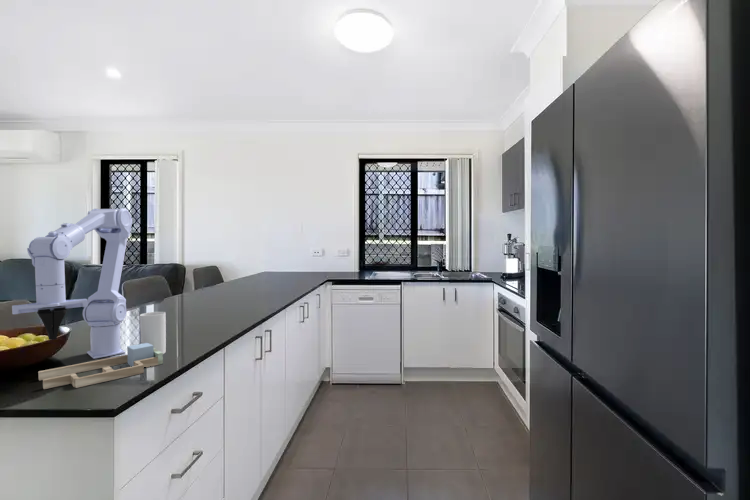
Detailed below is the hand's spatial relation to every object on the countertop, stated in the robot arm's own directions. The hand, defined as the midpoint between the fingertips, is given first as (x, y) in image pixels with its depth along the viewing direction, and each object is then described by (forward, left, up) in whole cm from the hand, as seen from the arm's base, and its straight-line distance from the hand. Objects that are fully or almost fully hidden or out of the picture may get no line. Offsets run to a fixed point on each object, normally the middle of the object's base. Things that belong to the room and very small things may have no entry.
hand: (52, 338), depth 100 cm
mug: (-4, +25, -10) cm, 27 cm away
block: (+5, +18, -10) cm, 21 cm away
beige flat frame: (+7, +10, -9) cm, 15 cm away
